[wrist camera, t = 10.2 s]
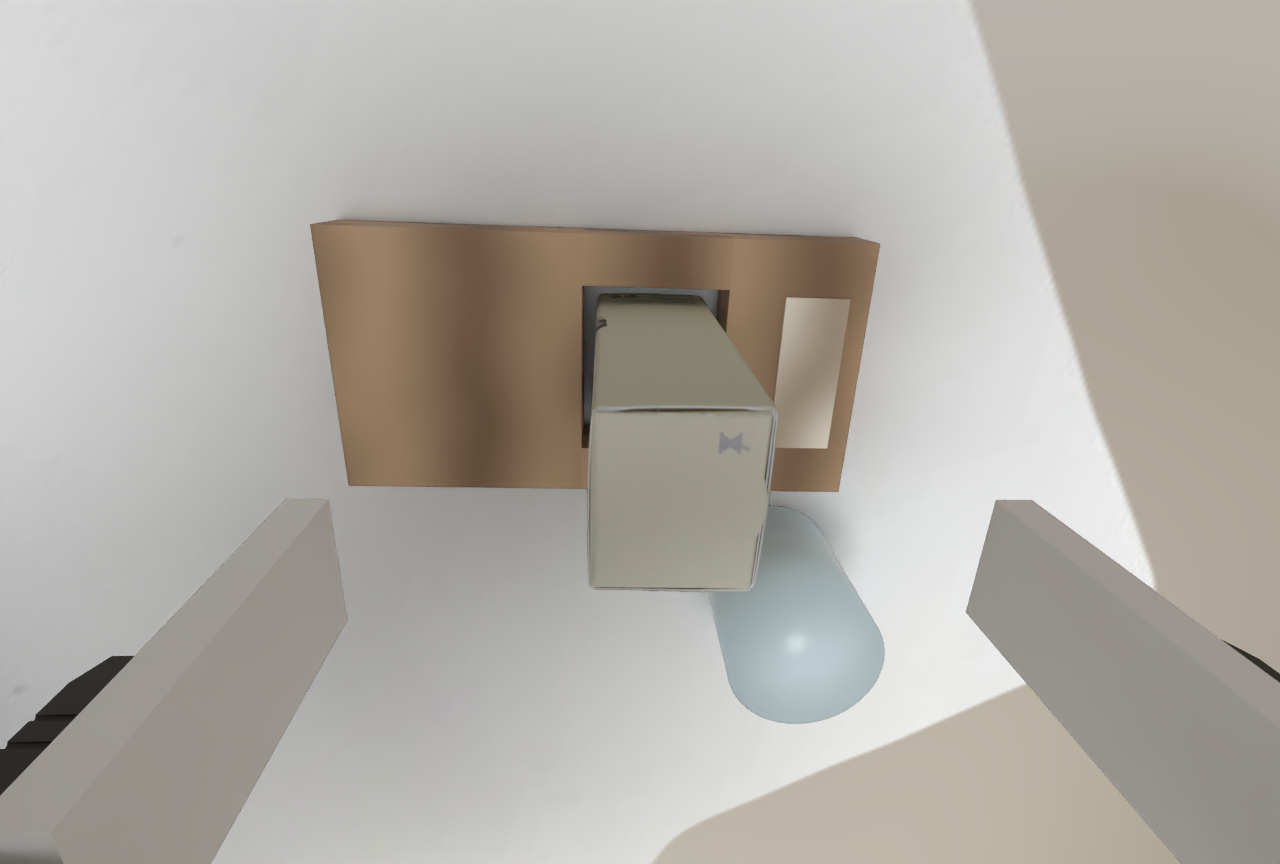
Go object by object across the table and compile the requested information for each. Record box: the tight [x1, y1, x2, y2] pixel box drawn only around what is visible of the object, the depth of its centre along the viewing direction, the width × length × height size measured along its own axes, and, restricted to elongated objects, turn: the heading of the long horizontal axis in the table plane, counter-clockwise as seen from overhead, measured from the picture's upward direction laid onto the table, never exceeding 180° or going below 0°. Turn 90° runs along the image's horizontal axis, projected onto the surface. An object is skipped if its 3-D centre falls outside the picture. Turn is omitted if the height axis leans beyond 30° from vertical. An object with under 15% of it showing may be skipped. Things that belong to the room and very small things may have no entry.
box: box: [587, 294, 779, 592], centre depth 21 cm, size 5×4×13 cm
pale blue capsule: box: [708, 506, 885, 724], centre depth 28 cm, size 6×6×7 cm
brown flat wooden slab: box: [310, 220, 880, 492], centre depth 25 cm, size 20×10×2 cm, turn 88°
